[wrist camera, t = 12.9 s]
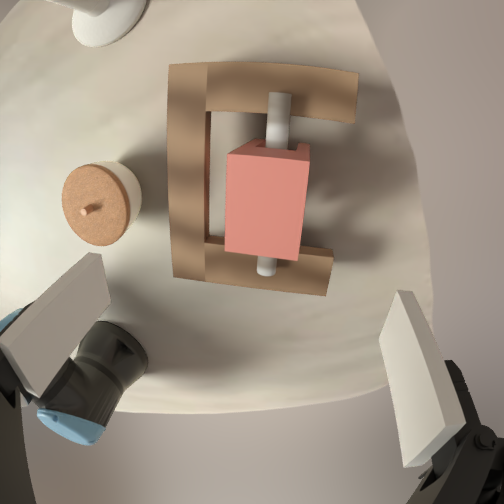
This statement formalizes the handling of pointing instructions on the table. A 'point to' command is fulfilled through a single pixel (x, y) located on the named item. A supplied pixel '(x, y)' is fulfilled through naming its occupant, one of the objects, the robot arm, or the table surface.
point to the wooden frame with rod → (278, 119)
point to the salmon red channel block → (266, 199)
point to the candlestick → (102, 19)
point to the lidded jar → (101, 201)
